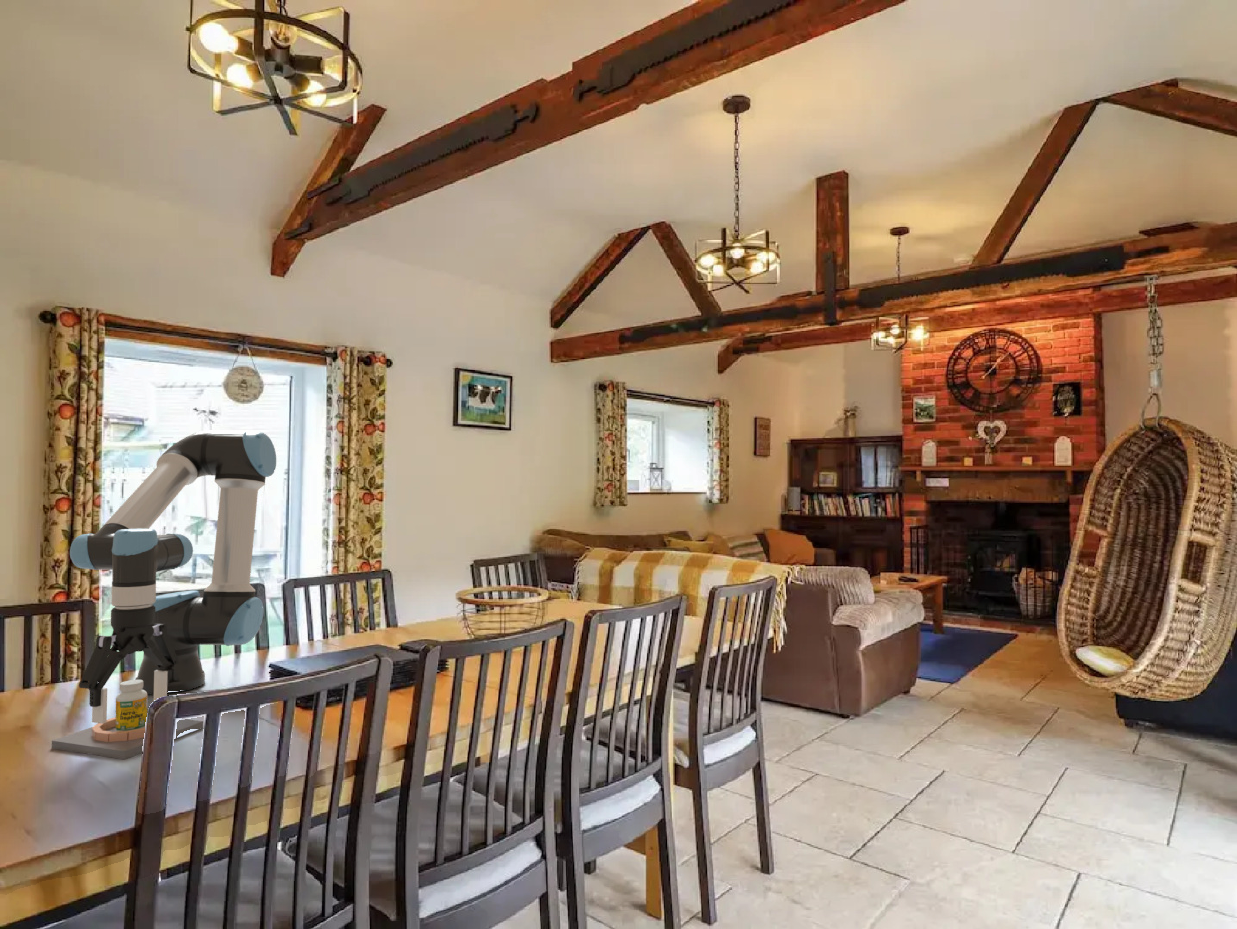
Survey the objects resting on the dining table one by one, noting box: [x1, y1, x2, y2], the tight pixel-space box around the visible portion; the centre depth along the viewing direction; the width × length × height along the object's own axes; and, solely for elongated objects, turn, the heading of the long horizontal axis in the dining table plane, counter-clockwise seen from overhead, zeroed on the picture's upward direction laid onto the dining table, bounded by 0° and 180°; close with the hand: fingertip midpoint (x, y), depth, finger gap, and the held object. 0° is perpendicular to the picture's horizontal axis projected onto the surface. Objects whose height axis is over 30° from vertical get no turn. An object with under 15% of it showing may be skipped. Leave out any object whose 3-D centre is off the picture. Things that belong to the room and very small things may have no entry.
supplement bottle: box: [115, 679, 148, 732], centre depth 150 cm, size 5×5×10 cm
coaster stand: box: [51, 716, 204, 760], centre depth 150 cm, size 18×18×3 cm
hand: (131, 711), depth 150 cm, fingers open, 13 cm apart
